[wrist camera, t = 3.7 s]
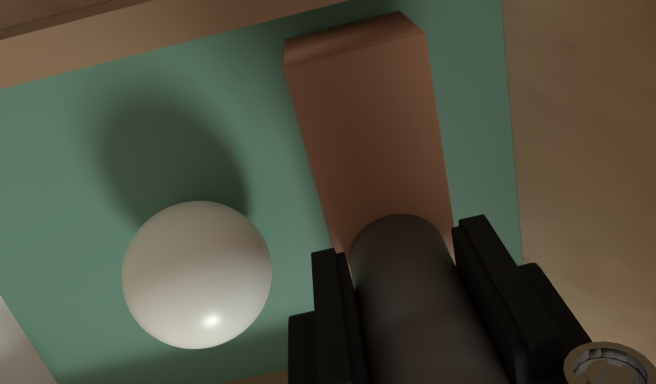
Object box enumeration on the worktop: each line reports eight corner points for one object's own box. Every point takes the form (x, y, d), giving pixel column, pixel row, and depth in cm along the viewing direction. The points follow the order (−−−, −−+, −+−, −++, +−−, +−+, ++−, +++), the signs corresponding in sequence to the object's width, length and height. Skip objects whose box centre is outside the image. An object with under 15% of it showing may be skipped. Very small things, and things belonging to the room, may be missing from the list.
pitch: (474, -94, 14) (581, -99, 9) (513, 310, 21) (590, 446, 15) (-318, 113, 16) (-633, 215, 10) (-52, 435, 22) (-163, 603, 17)
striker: (399, 10, 14) (596, 183, 5) (451, 320, 19) (599, 695, 10) (284, 39, 14) (274, 258, 5) (364, 340, 19) (432, 726, 10)
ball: (252, 162, 16) (241, 234, 12) (288, 272, 18) (288, 363, 14) (120, 194, 16) (71, 274, 12) (169, 300, 18) (139, 396, 14)
